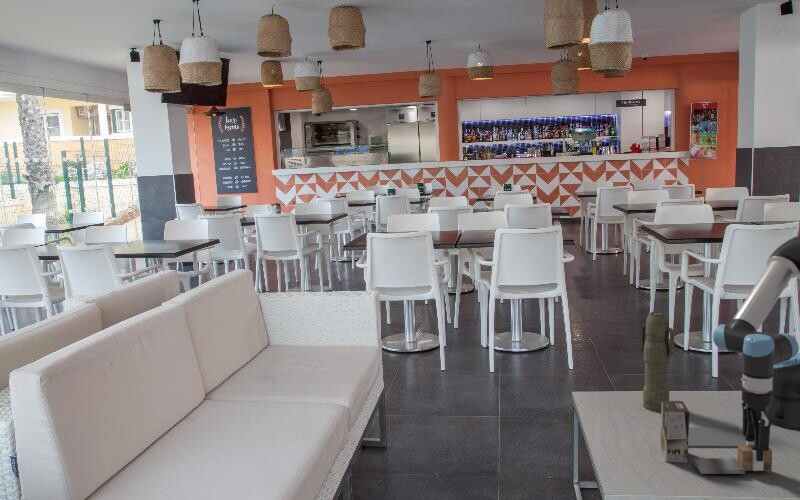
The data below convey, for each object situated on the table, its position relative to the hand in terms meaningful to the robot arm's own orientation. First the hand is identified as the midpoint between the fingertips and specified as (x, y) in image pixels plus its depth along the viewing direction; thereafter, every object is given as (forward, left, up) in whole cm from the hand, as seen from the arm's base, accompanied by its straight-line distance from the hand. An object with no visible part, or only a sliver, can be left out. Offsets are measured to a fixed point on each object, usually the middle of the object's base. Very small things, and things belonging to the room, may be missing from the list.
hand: (754, 466), depth 189 cm
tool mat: (+4, -23, -2) cm, 23 cm away
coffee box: (+19, -10, -2) cm, 22 cm away
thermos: (+13, -49, -2) cm, 51 cm away
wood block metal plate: (+6, 0, 0) cm, 6 cm away
